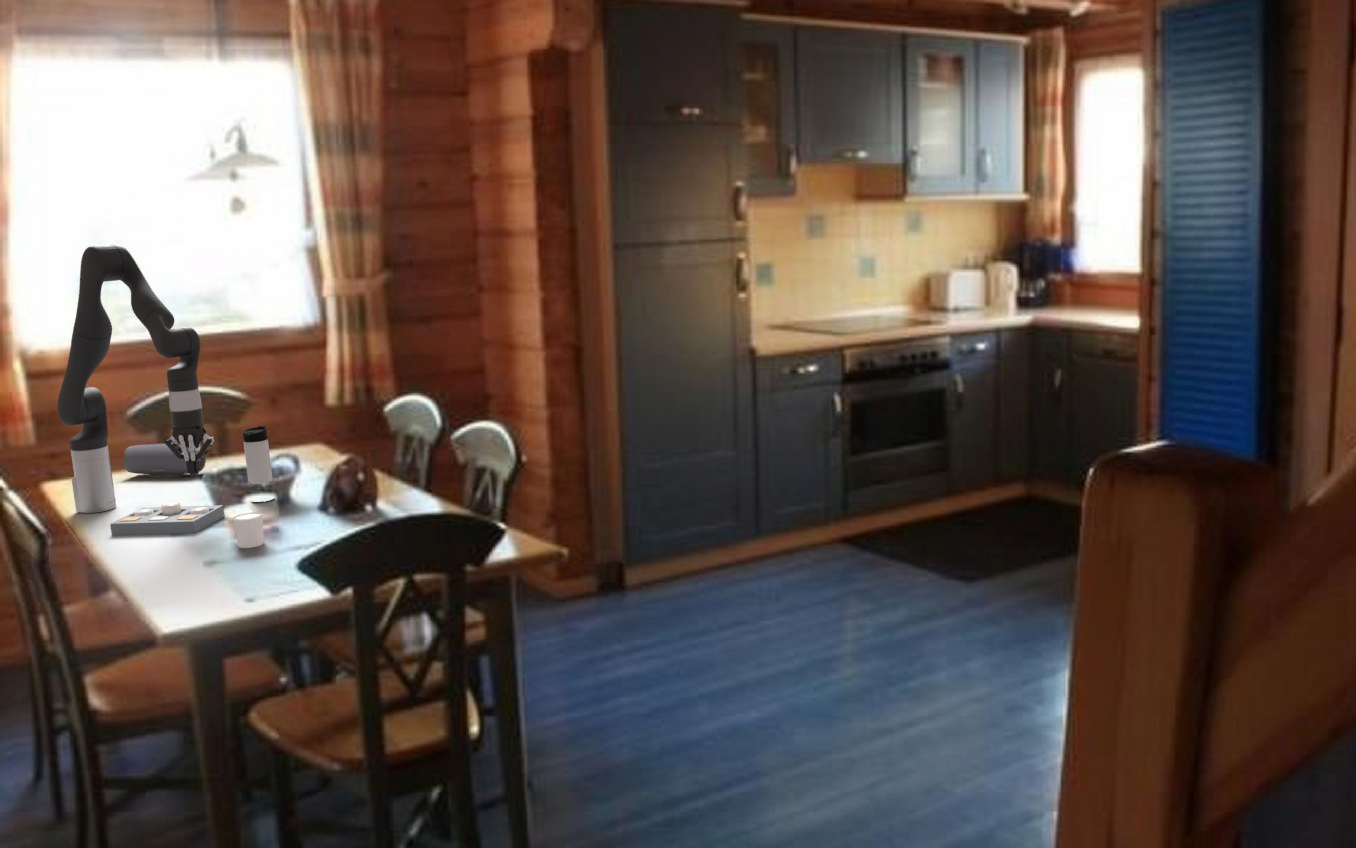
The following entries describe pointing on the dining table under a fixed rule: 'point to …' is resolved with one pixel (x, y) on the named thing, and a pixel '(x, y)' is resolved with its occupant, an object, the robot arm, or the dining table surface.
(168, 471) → the bluetooth speaker
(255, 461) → the travel mug
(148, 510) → the button
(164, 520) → the button board
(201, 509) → the button
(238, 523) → the white cup
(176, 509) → the middle button
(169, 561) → the dining table surface
